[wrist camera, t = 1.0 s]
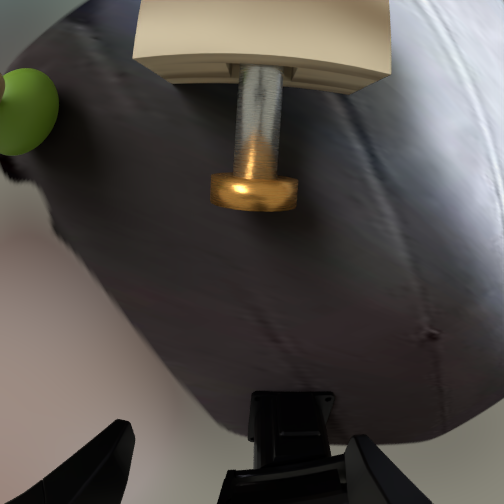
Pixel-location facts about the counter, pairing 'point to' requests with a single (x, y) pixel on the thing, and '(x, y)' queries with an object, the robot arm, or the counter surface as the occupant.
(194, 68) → the block
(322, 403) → the robot arm
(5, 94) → the snail figurine
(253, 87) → the pin
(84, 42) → the counter surface
